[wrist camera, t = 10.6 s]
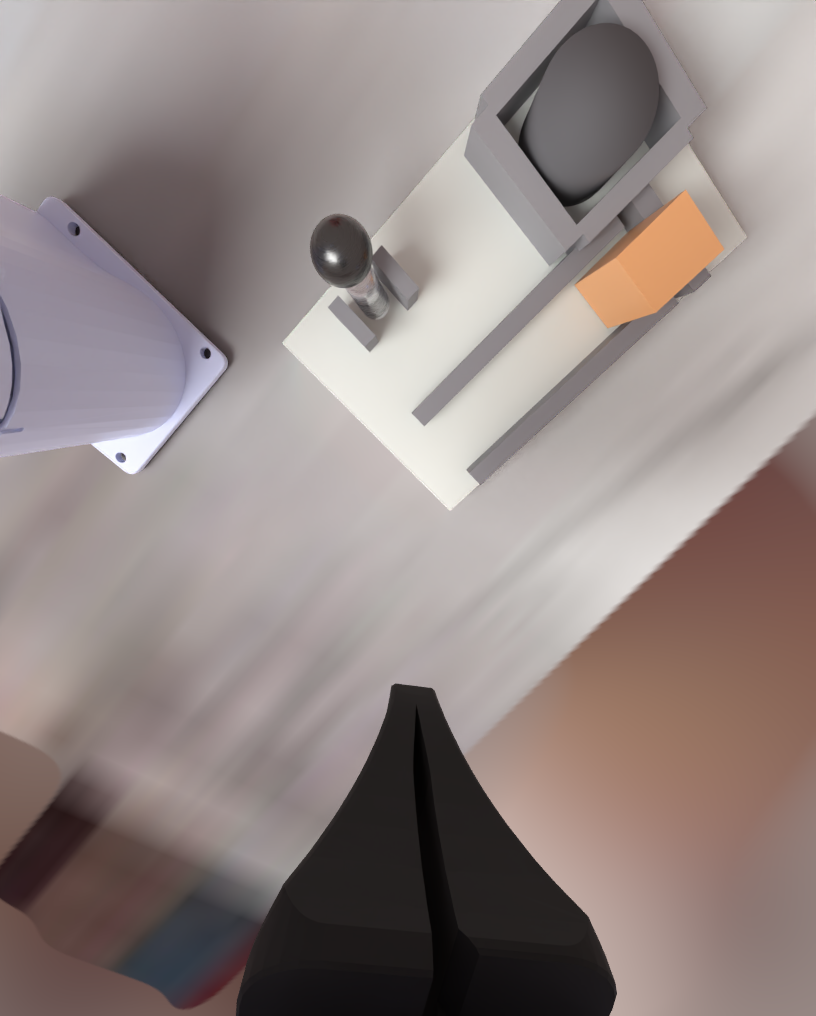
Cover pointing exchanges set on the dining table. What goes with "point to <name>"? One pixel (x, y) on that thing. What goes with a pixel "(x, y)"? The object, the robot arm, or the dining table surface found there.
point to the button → (591, 110)
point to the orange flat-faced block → (650, 263)
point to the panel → (503, 275)
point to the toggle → (348, 262)
